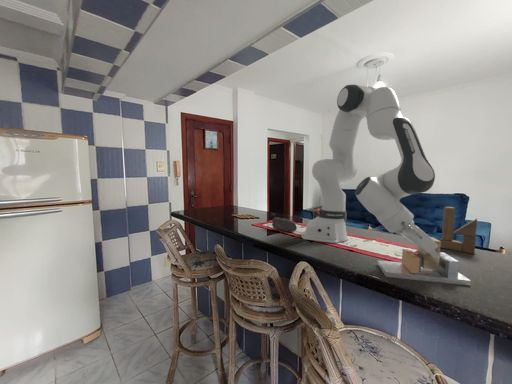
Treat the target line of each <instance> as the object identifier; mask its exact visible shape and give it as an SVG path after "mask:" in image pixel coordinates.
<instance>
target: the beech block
mask: <svg viewBox="0 0 512 384" xmlns="http://www.w3.org/2000/svg"><path fill="white" fill-rule="evenodd" d="M429 237H430V238H431V239H432V240H433V241H434V242H435V243H436V244H437V245H438V247H437V248H436V249H435V251H436V252H437V253H438V256H436V257H432V256H431V255H430V254H429V253H426V252H425V251H423V250H422V249H420V248H419V247H418V246H417V251H416V254H417V255H418V256H419V257H420V258H422V261H421V267H422V268H423V269H431V270H439V259H440V252H441V248H440V246H441V240H439V239H437V238H435V237H434V236H433V237H432V236H429Z"/></svg>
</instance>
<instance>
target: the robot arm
mask: <svg viewBox="0 0 512 384" xmlns="http://www.w3.org/2000/svg"><path fill="white" fill-rule="evenodd" d="M336 98H337V99H336V104H337V108H338V109H339V110H338V113H336V116H335V120H334V123H333V127H332V130H331V135H330V139H329V144H328V145H329V149H331V151H332V158H324V159H320V160H317V161H316V162H315V163H314V164H313V166H312V169H311V174H312V177H313V178H314V179H315V180H316V181H317V183H318V184H319V187H320V192H321V208H317V209H316V212H317V216H316V217H315V218H313V219H312V220H310V221H309V222H308V223H307V224H306V227H305V230H304V231H302V232H301V235H300V237H301V238H302V239H303V240H307V241H308V240H309V241H315V242H321V243H322V242H325V243H331V244H337V243H340V242H346V241H348V239H349V238H348V233H347V228H346V226H347V225H346V222H347V210H346V200H347V195H346V193H345V192H344V191H343V189H342V187H341V183H344V182H347V181H350V180H353V179H354V178H355V177H356V174H357V171H358V170H357V169H358V168H357V166H356V164H355V162H354V147H355V143H356V140H357V135H358V131H359V127H360V123H361V120H362V119H364V118H366V122H367V123H366V125H367V129H368V132H369V134H370V136H372V137H373V138H375V139H377V140H384V141H386V140H387V141H388V140H394V141H395V143H396V146H397V149H398V153H399V155H400V158H401V160H400V163H399V164H398V166H396V167H394V168H393V169H390V170H388V171H386V172H384V173H382V174H379V175H375V176H368V177H365V178H363V180H361V182H360V183H359V184H358V185H357V186H356V189H355V192H354V194H355V196H356V198H357V200H358V202H359V203H360V204H361V205H362V206H363V207H364V208H365V209H366V210H367V211H368V212H369V213H371V214H372V215H374V217H376V220H377V221H378V222H379V223H380V224H381V225H382V226H383V227H384V228H385V229H386V230H387V231H388V232H389V233H395V234H397V235H400V236H402V237H404V239H406V240H407V241H409V242H411V243H412V244H413V245H415V246H416V247H417V248H418V247H419V248H420V249H422V250H423V251H425V252H426V253H429V254H430V255H431V256H432V257H436V256H438V253H437V252H436V251H435V249H436V248H437V247H438V245H437V244H436V243H435V242H434V241H433V240H432V239H431V238H430V237H431V236H429V235H428V234H427V233H426V232H425V231H424V230H422V229H421V228H420V227H418V226H417V225H416V224H415V221H414V218H415V215H414V213H412V212H411V211H410V210H409V209H408V208H407V207H406V206H405V205H404V204H403V203H402V202H401V201H400V200H401V199H402V198H405V197H408V196H411V195H416V194H421V193H426V192H428V191H429V190H431V188H432V187H433V186H434V182H435V179H436V173H435V170H434V168H433V167H432V165H431V164H430V162H429V160H428V159H427V157H426V155H425V152H424V149H423V147H422V144H421V142H420V139H419V137H418V135H417V132H416V129H415V127H414V125H413V123H412V122H411V120H410V119H409V118H407V117H404V115H403V114H402V109H401V105H400V103H399V100H398V97H397V95H396V92H395V91H394V89H392V88H391V87H388V86H382V87H378V88H376V87H372V86H365V85H357V84H347V85H345V86H344V87H343V88H342V89H341V90H340V91H339V93H338V96H337V97H336Z"/></svg>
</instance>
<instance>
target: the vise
mask: <svg viewBox="0 0 512 384" xmlns="http://www.w3.org/2000/svg"><path fill="white" fill-rule="evenodd" d="M377 266H378V267H379V268H380V270H381V272H382V273H383V275H384V276H385V277H387V278H392V279H393V278H395V279H403V280H404V279H405V280H413V281H415V280H416V281H422V282H431V283H439V284H440V283H441V284H451V285H460V286H461V285H462V286H472V285H471V284H472V280H470V279H469V278H468V277H466V276H465V275H464V274H462V273H460V272H459V267H460V261H459V260H457V259H456V258H454V257H452V256H451V255H449V254H447V253H446V252H443V251H442V252H441V251H440V259H439V270H431V269H423V268H422V267H421V272H419V273H411V272H410V271H409V270H408V269H407V268H406V267H405V266H404V265H403V264H402V261H401V262H399V261H389V260H377Z"/></svg>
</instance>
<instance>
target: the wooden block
mask: <svg viewBox="0 0 512 384" xmlns="http://www.w3.org/2000/svg"><path fill="white" fill-rule="evenodd" d="M455 211H456V208H455V207H453V206H445V207H443V218H442V219H443V221H442V229H441V231H442V232H441V239H440V241H441V246H440V249H445V250H450V251H456V252H461V253H466V254H471V255H474V254H475V253H476V252H475V251H476V239H477V236H476V235H477V225H478V218H475V219H473V220H472V221H470V222H468V223H466V224H465V225H463V226H461V227H459V228H457V229H456V230H454V225H455ZM454 235H460V236H462V237H463V238H462V239H463V240H462V242H461V241H459V240H455V239H453V238H454Z"/></svg>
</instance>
